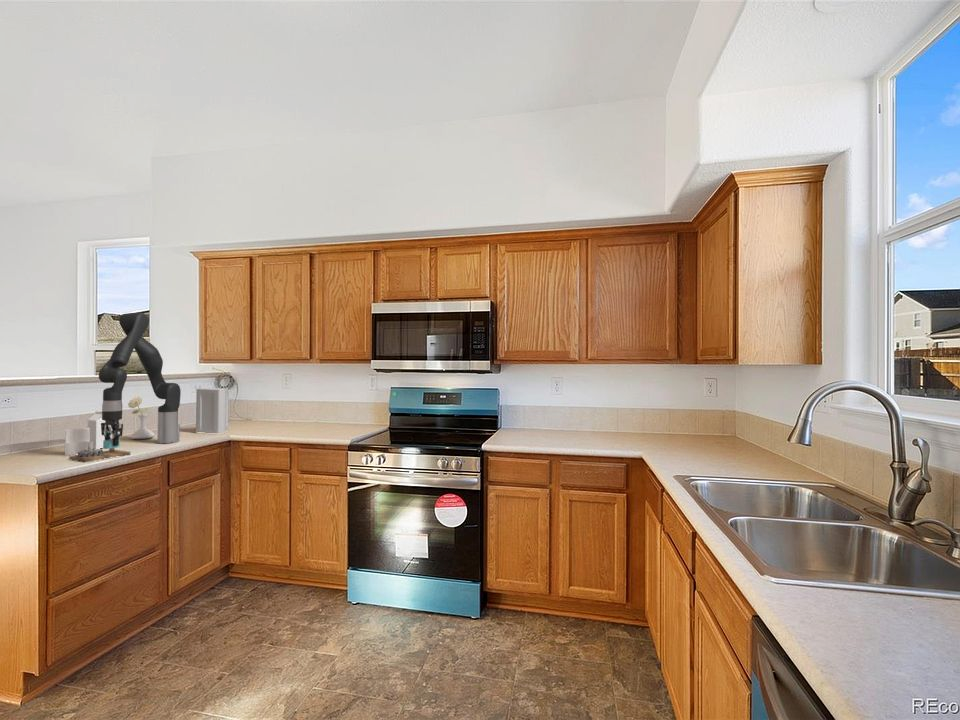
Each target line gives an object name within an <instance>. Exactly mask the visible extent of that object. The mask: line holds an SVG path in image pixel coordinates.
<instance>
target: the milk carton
mask: <svg viewBox="0 0 960 720" xmlns="http://www.w3.org/2000/svg"><path fill="white" fill-rule="evenodd" d="M101 423H105V421H104V420H102V411H98V410H97V411H95V413H94V414H93V415H92V416H90V417H88V419H87V428H90V441H92V442H93V449H98V450H101V449H100V448H103V441H104V440H105V437H104V435H102V433H101ZM110 437H111V439H113V436H112V434H111V436H110Z"/></svg>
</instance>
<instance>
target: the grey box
mask: <svg viewBox="0 0 960 720" xmlns="http://www.w3.org/2000/svg"><path fill="white" fill-rule="evenodd" d="M229 390H230V389H229V388H228V387H227V388H226V387H225V388H224V387H220V388H217V387H216V388H215V387H214V388H196V395H195V396H196V401H195V402H196V403H195V406H196V407H195V410H196V411H195V433H196V432H205V433H222V432H225V431H226V430H227V429H228V430H229V398H230V397H229V395H230V393H229V392H230V391H229Z"/></svg>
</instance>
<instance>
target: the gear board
mask: <svg viewBox="0 0 960 720" xmlns="http://www.w3.org/2000/svg"><path fill="white" fill-rule="evenodd" d="M112 440H113V438H112V439H110V441H112ZM125 455H127V456H131V451H126V450H121V449H115V448H109V449H108V450H103V449H96V450H93V442H92V441H90V442H88V450H85V451H80V452H78V455H70V456H68V457H69V458H68V460H69V459H72V460H71V461H75V460H77V461H76V462H80V461H82V463H90V462H95V461H94V460H96V461H100V460H99V459H102V460H105V459H104V458H109V459H111V458H110V457H115V458H117V457H116V456H121V457H126V456H125ZM89 461H90V462H89Z"/></svg>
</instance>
